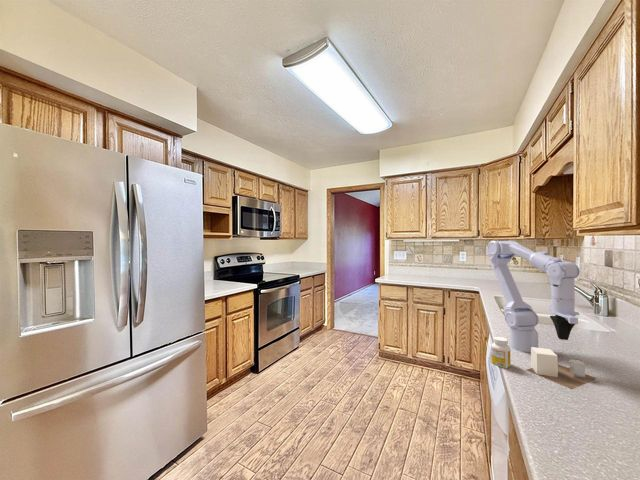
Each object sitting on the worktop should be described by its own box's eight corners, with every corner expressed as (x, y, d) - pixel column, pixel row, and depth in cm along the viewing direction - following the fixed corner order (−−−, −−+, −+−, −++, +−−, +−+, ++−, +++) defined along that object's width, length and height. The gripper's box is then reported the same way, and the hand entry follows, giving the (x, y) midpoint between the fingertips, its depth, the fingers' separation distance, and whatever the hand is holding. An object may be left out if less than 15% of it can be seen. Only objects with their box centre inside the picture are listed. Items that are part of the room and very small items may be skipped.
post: (569, 373, 84) (569, 359, 84) (580, 375, 83) (580, 360, 83) (574, 377, 82) (574, 363, 82) (585, 379, 81) (585, 364, 81)
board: (550, 364, 93) (550, 361, 93) (597, 381, 82) (597, 378, 82) (525, 372, 87) (525, 369, 87) (571, 392, 76) (571, 388, 76)
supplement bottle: (502, 362, 94) (502, 335, 94) (514, 370, 89) (514, 341, 89) (488, 363, 94) (487, 335, 94) (498, 371, 89) (498, 342, 89)
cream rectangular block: (531, 366, 89) (530, 346, 89) (550, 369, 87) (550, 349, 87) (537, 374, 84) (536, 353, 84) (557, 377, 82) (557, 355, 82)
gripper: (590, 304, 80) (591, 349, 80) (567, 294, 93) (567, 333, 94) (561, 302, 83) (561, 346, 83) (542, 293, 96) (542, 330, 96)
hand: (562, 339), depth 88 cm, fingers closed
